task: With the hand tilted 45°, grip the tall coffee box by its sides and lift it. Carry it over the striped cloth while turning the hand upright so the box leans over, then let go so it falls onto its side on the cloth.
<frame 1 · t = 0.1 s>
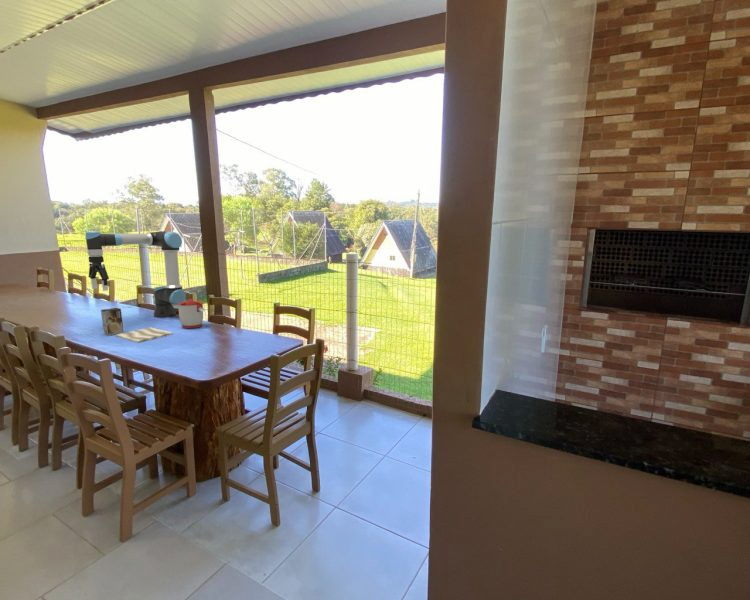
hand: (100, 289, 240), 28 cm above the table, tool pointing down, fingers open, 13 cm apart
citrus juicer: (193, 327, 262), on the table
coffee box: (113, 333, 242), on the table
striped cloth: (144, 335, 239), on the table
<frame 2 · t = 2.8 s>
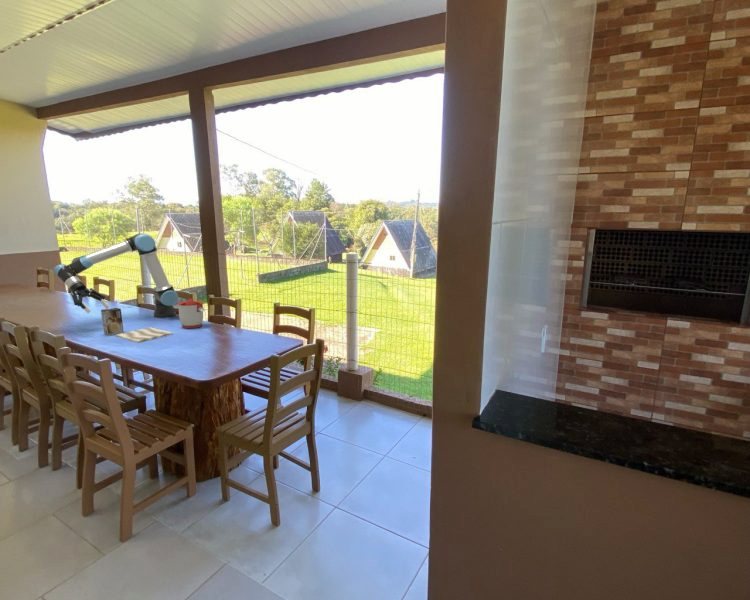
hand: (99, 309, 239), 15 cm above the table, tool tilted 45°, fingers open, 13 cm apart
nothing on the table moved.
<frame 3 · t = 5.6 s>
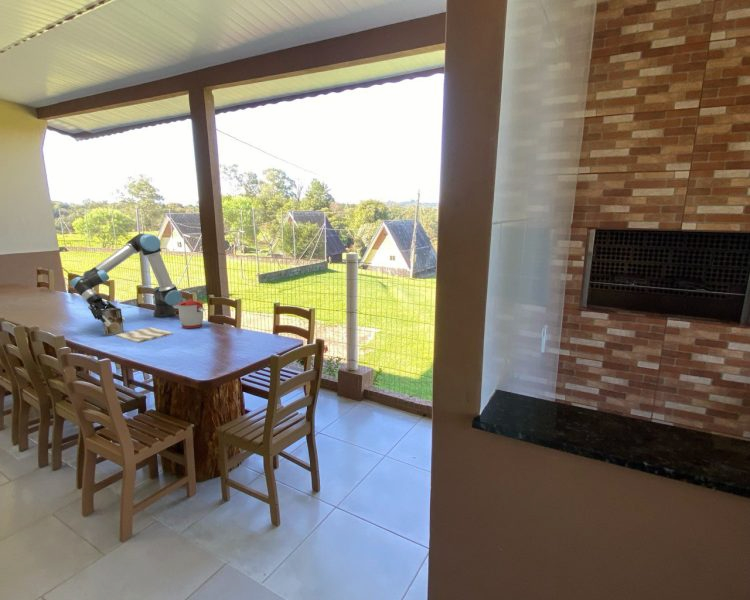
hand: (116, 323, 240), 7 cm above the table, tool tilted 45°, fingers closed on coffee box, 10 cm apart
coffee box: (113, 333, 242), on the table, touching gripper
everything else where it was.
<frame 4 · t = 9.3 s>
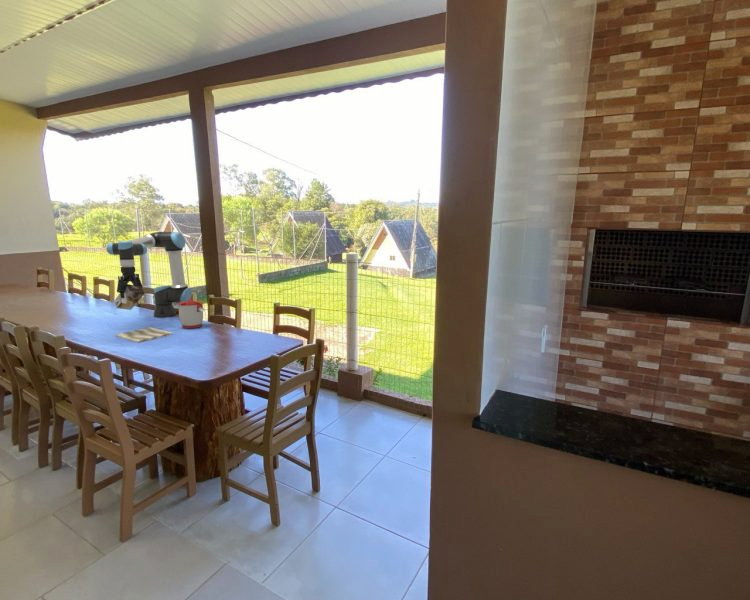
hand: (131, 301, 236), 22 cm above the table, tool pointing down, fingers closed on coffee box, 10 cm apart
coffee box: (121, 305, 238), point 18 cm above the table, touching gripper
everything else where it was.
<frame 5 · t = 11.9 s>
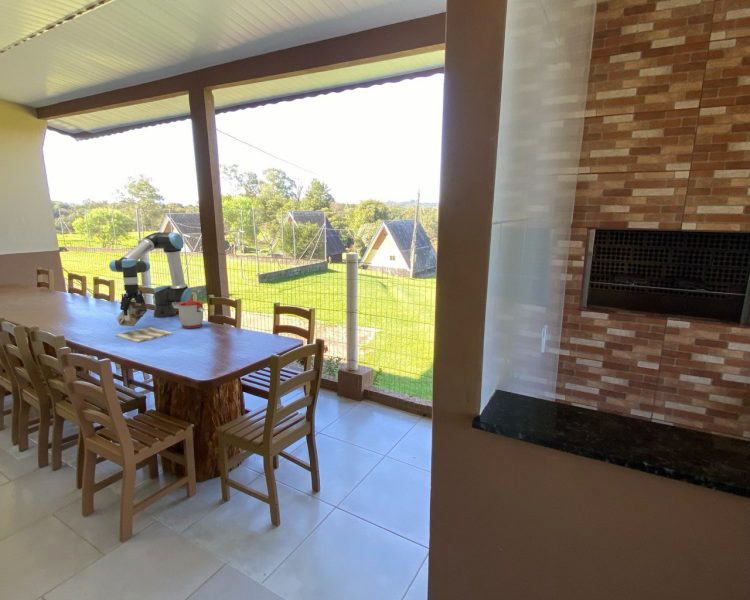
hand: (134, 318, 238), 11 cm above the table, tool pointing down, fingers closed on coffee box, 10 cm apart
coffee box: (124, 322, 240), point 8 cm above the table, touching gripper
everything else where it was.
when the fingers open (9 cm above the table, at t = 13.4 s): coffee box drops 2 cm, resting on striped cloth.
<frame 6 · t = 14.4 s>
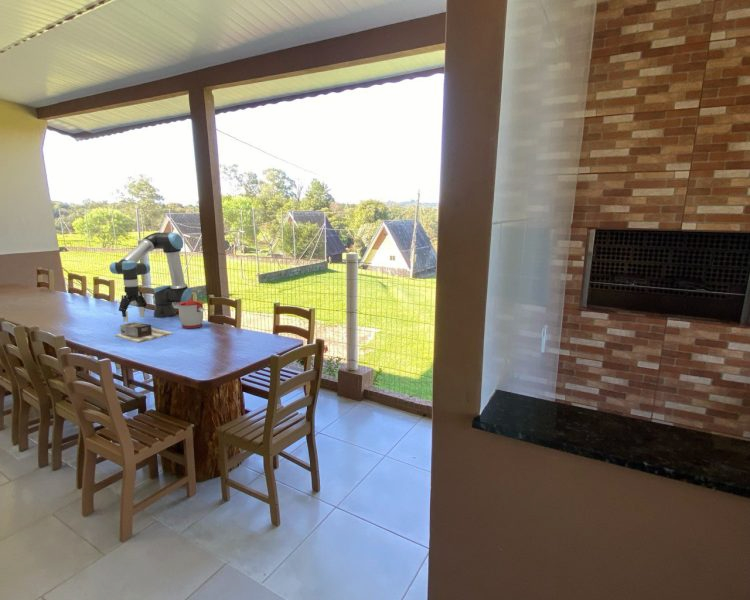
hand: (134, 319, 238), 10 cm above the table, tool pointing down, fingers open, 13 cm apart
coffee box: (126, 328, 239), point 4 cm above the table, touching striped cloth
everything else where it was.
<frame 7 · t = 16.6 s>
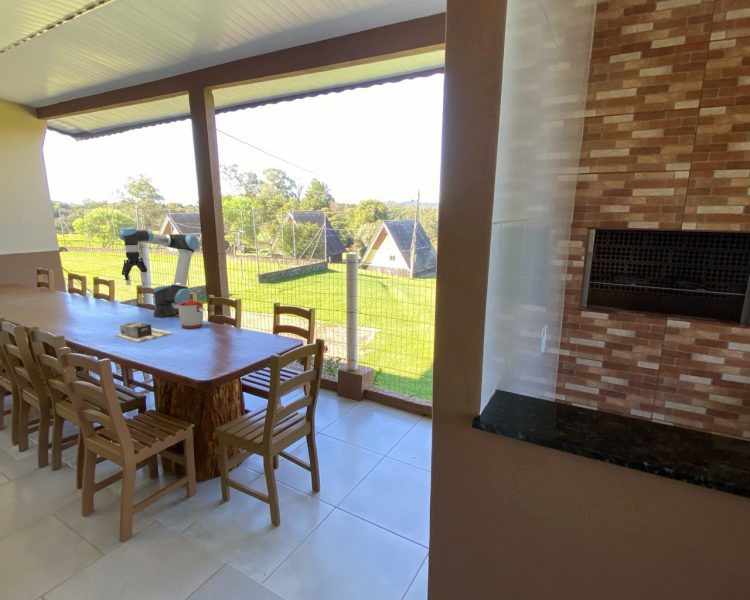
hand: (136, 283, 252), 30 cm above the table, tool pointing down, fingers open, 13 cm apart
nothing on the table moved.
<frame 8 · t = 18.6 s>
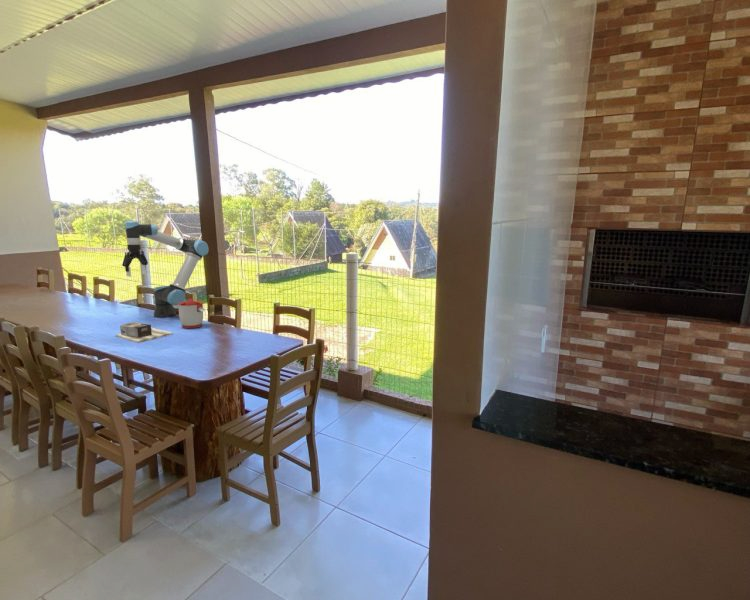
hand: (136, 275, 260), 35 cm above the table, tool pointing down, fingers open, 13 cm apart
nothing on the table moved.
at the end: coffee box tilted 90°; coffee box inside the target area (8.5 cm from its centre), point 4.4 cm above the table; coffee box touching striped cloth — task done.
